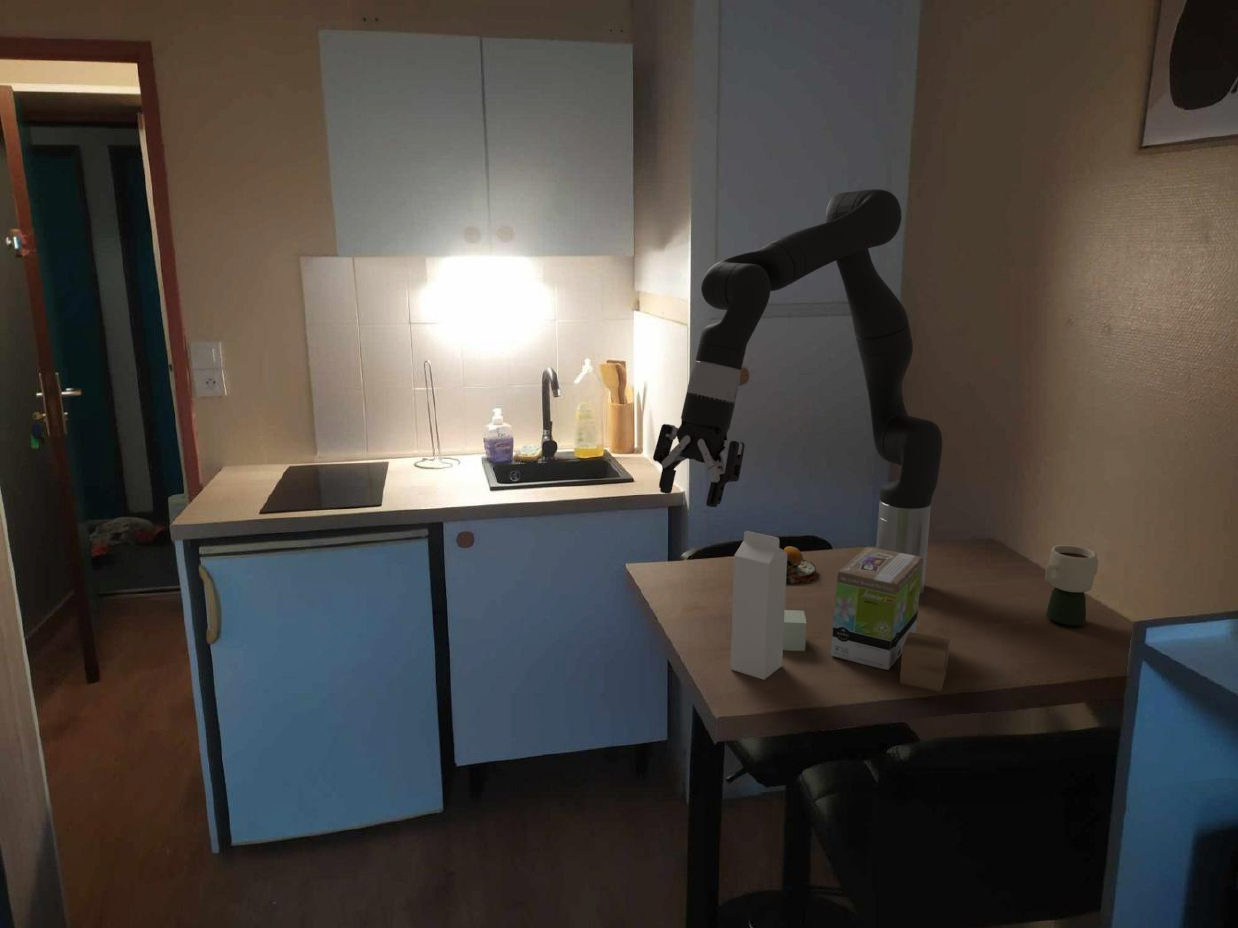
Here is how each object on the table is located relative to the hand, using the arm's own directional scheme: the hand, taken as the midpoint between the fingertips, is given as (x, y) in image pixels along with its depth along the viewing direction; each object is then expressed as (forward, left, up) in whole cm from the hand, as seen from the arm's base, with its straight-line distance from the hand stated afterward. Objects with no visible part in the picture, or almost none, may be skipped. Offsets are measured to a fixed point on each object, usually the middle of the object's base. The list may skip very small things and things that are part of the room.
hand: (687, 499), depth 142 cm
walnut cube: (-10, +35, -27) cm, 45 cm away
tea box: (-18, +26, -27) cm, 42 cm away
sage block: (-13, +13, -27) cm, 33 cm away
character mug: (-43, +54, -27) cm, 74 cm away
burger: (-45, +4, -27) cm, 53 cm away
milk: (-3, +11, -27) cm, 29 cm away
